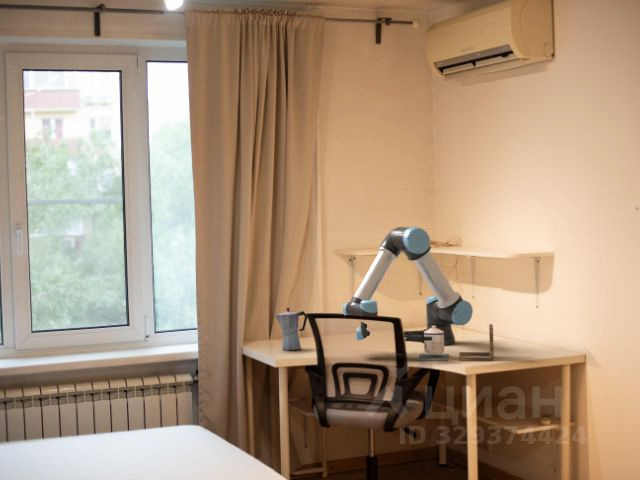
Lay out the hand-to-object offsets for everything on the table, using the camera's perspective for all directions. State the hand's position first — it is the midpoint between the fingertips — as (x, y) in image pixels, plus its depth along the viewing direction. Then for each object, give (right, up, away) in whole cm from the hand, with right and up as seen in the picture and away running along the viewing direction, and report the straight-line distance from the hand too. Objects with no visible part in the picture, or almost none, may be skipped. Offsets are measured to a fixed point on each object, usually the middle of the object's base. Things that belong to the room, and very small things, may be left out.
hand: (440, 336), depth 374 cm
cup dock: (+15, -9, -2) cm, 18 cm away
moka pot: (-66, -10, +35) cm, 76 cm away
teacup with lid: (-3, -8, +1) cm, 8 cm away
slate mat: (-3, -10, +1) cm, 10 cm away
